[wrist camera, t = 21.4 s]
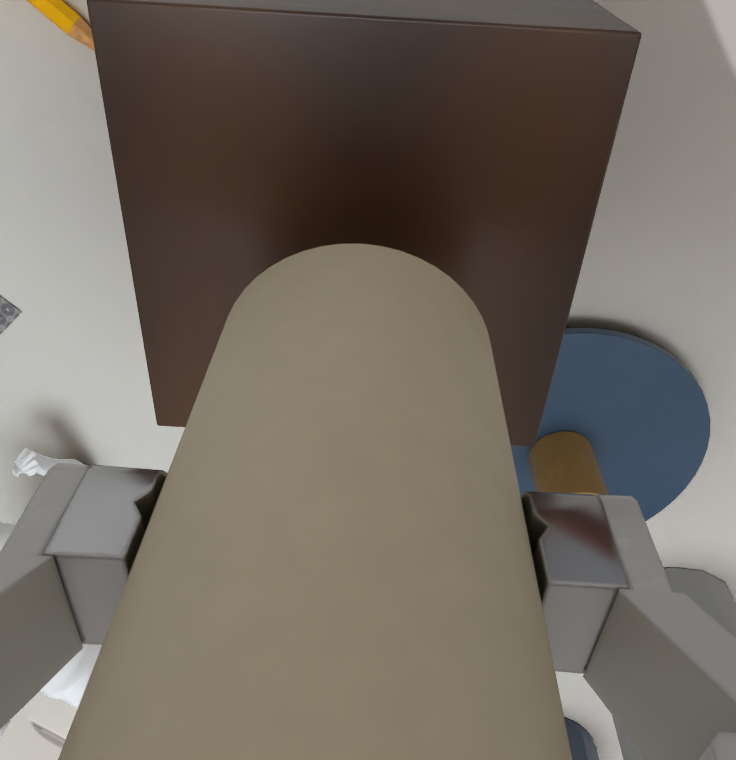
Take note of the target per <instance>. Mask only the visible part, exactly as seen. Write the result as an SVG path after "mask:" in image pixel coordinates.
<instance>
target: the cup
mask: <svg viewBox="0 0 736 760" xmlns="http://www.w3.org/2000/svg"><path fill="white" fill-rule="evenodd" d="M664 571H665V573H666V576H667V578H668V581H669V583H670V586H671V588H672V591H673V592H679V593H685V594H686V595H687V596H688V597H689V598H691V599H692V600H693V601H694V602H695V603H696V604H697V605H699V606H700V607H701V608H702V609H703V610H704V611H705V612H707V613H708V614H709V615H710V616H711V617H712V618H714V619H715V620H716V621H717V622H718V623H719V624H720V625H722V626H723V627H724V628H725V629H726V630H727V631H728V632H730V633H731V634H732V635H733V636H734V637H735V638H736V603H735V601H734V599H733V597H732V595H731V593H730V591H729V589H728V587H727V585H726V583H725V582H723V581H721V580H719V579H717V578H716V577H714V576H712V575H710V574H708V573H706V572H704V571H700V570H690V569H681V568H671V567H670V568H665V569H664ZM612 716H613V715H612ZM613 720H614V724H615V728H616V732H617V736H618V739H619V743H620V747H621V751H622V755H623V759H624V760H647V759H646V758H645V757H644V756H643V754H642V753H641V752H640V750H639V749H638V748H637V746H636V745H635V744H634V742H633V741H632V740H631V738H630V737H629V736H628V735H627V733H626V732H625V731H624V729H623V728H622V727H621V725H620V724H619V723H618V721H617V720H616V719H615V717H614V716H613Z"/></svg>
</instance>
